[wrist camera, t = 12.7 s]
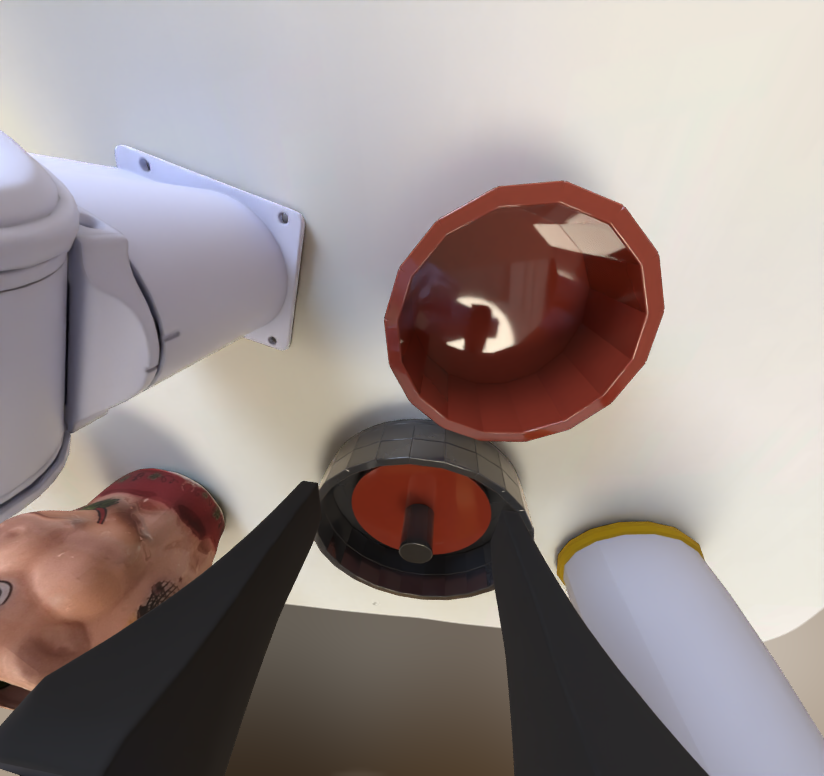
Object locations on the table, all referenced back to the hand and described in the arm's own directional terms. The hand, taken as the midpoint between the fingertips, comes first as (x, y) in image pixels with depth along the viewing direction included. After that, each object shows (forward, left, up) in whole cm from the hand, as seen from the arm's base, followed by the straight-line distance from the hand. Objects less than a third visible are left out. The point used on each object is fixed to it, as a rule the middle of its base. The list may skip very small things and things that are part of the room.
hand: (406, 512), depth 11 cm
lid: (+3, -10, -8) cm, 13 cm away
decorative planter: (-17, -22, -10) cm, 30 cm away
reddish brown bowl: (+2, +7, -9) cm, 12 cm away
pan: (+3, -10, -9) cm, 14 cm away
